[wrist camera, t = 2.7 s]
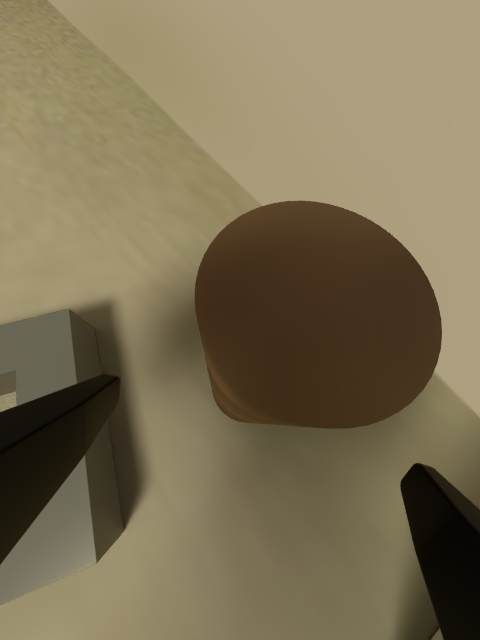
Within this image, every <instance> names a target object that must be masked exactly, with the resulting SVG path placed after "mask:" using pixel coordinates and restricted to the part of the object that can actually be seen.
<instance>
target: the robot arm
mask: <svg viewBox="0 0 480 640" xmlns="http://www.w3.org/2000/svg"><path fill="white" fill-rule="evenodd" d="M119 394H120V377H119V376H116V375H113V374H109V373H104V374H101V375H98V376H96V377H93V378H90V379H88V380H85V381H82V382H80V383H77V384H74V385H72V386H69V387H66V388H64V389H61V390H58V391H56V392H53V393H50V394H48V395H45V396H42V397H39V398H37V399H34V400H31V401H29V402H26V403H23V404H21V405H18V406H15V407H13V408H10V409H7V410H5V411H2V412H0V565H1V564H2V562H3V561H4V560H5V558H6V557H7V556H8V554H9V553H10V552H11V551H12V549H13V548H14V547H15V545H16V544H17V543H18V541H19V540H20V539H21V538H22V536H23V535H24V534H25V532H26V531H27V530H28V529H29V527H30V526H31V525H32V523H33V522H34V521H35V519H36V518H37V517H38V516H39V514H40V513H41V512H42V510H43V509H44V508H45V506H46V505H47V504H48V503H49V501H50V500H51V499H52V497H53V496H54V495H55V493H56V492H57V491H58V490H59V488H60V487H61V486H62V484H63V483H64V482H65V480H66V479H67V478H68V477H69V475H70V474H71V473H72V471H73V470H74V469H75V467H76V466H77V465H78V464H79V462H80V461H81V460H82V458H83V457H84V455H85V454H86V453H87V451H88V450H89V448H90V447H91V445H92V444H93V442H94V440H95V439H96V437H97V436H98V434H99V432H100V431H101V429H102V428H103V426H104V424H105V423H106V421H107V420H108V418H109V416H110V415H111V413H112V412H113V410H114V408H115V407H116V405H117V403H118V401H119ZM400 486H401V493H402V497H403V501H404V505H405V510H406V514H407V518H408V522H409V527H410V531H411V535H412V540H413V544H414V547H415V551H416V555H417V558H418V561H419V565H420V568H421V571H422V574H423V577H424V580H425V583H426V587H427V590H428V593H429V596H430V599H431V602H432V605H433V608H434V612H435V615H436V618H437V621H438V624H439V627H440V630H441V633H442V637H443V640H480V510H479V509H478V508H477V507H476V506H475V505H474V504H473V503H472V502H471V501H470V500H468V499H467V498H466V497H465V496H464V495H463V494H462V493H461V492H460V491H458V490H457V489H456V488H455V487H454V486H453V485H452V484H451V483H450V482H448V481H447V480H446V479H445V478H444V477H443V476H442V475H441V474H440V473H438V472H437V471H436V470H435V469H434V468H432V467H430V466H427V465H424V464H420V463H416V464H414V465H413V466H412V467H411V468H410V470H409V471H408V472H407V473H406V475H405V476H404V477H403V479H402V480H401V485H400Z"/></svg>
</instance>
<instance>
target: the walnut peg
mask: <svg viewBox="0 0 480 640" xmlns="http://www.w3.org/2000/svg"><path fill="white" fill-rule="evenodd" d="M195 307H196V315H197V320H198V325H199V329H200V334H201V339H202V344H203V348H204V353H205V358H206V362H207V367H208V372H209V377H210V381H211V386H212V391H213V395H214V399H215V401H216V403H217V405H218V406H219V408H220V409H221V410H222V411H223V413H225V414H226V415H227V416H229V417H230V418H232V419H234V420H237V421H240V422H248V423H262V424H276V425H289V426H303V427H317V428H353V427H359V426H366V425H369V424H372V423H375V422H378V421H382V420H384V419H386V418H388V417H390V416H392V415H394V414H396V413H398V412H399V411H401V410H402V409H403V408H405V407H406V406H407V405H409V404H410V403H411V402H412V401H413V400H414V399H415V398H416V397H417V396H418V395H419V394H420V393H421V392H422V390H423V389H424V387H425V386H426V384H427V383H428V381H429V380H430V378H431V376H432V374H433V372H434V369H435V367H436V364H437V361H438V357H439V353H440V349H441V339H442V329H441V317H440V312H439V307H438V303H437V301H436V297H435V294H434V291H433V289H432V287H431V285H430V282H429V280H428V278H427V276H426V275H425V273H424V271H423V270H422V268H421V267H420V265H419V264H418V262H417V261H416V260H415V258H414V257H413V256H412V255H411V253H410V252H409V251H408V250H407V249H406V248H405V247H404V246H403V245H402V244H401V243H400V242H399V241H398V240H397V239H396V238H394V237H393V236H392V235H391V234H390V233H388V232H387V231H386V230H384V229H383V228H381V227H380V226H379V225H377V224H375V223H374V222H372V221H370V220H368V219H367V218H365V217H363V216H361V215H359V214H356V213H354V212H352V211H349V210H346V209H344V208H341V207H337V206H334V205H330V204H325V203H319V202H311V201H286V202H279V203H273V204H270V205H266V206H262V207H259V208H256V209H254V210H251V211H249V212H247V213H245V214H243V215H242V216H240V217H238V218H237V219H235V220H234V221H232V222H231V223H230V224H228V225H227V226H226V227H225V228H224V229H223V230H222V231H221V232H220V233H219V234H218V235H217V236H216V238H215V239H214V240H213V241H212V243H211V244H210V246H209V247H208V249H207V251H206V253H205V254H204V257H203V259H202V262H201V264H200V267H199V270H198V274H197V279H196V286H195Z"/></svg>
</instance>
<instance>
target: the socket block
mask: <svg viewBox="0 0 480 640" xmlns="http://www.w3.org/2000/svg"><path fill="white" fill-rule="evenodd" d="M98 375H101V368H100V361H99V354H98V347H97V340H96V334H95V328H94V327H92V326H91V325H90V324H88V323H87V322H86V321H84V320H83V319H82V318H80V317H79V316H78V315H76V314H75V313H74V312H72V311H71V310H69V309H66V310H62V311H58V312H54V313H50V314H46V315H42V316H38V317H34V318H29V319H25V320H21V321H17V322H13V323H9V324H5V325H1V326H0V396H1V395H4V394H7V393H11V392H14V391H16V396H17V406H18V405H21V404H23V403H26V402H29V401H31V400H34V399H37V398H39V397H42V396H45V395H48V394H50V393H53V392H56V391H58V390H61V389H64V388H66V387H69V386H72V385H74V384H77V383H80V382H82V381H85V380H88V379H90V378H93V377H96V376H98ZM123 532H124V527H123V520H122V513H121V506H120V499H119V492H118V485H117V478H116V471H115V465H114V458H113V451H112V444H111V437H110V430H109V423H108V420H107V421H106V423H105V424H104V426H103V428H102V429H101V431H100V432H99V434H98V436H97V437H96V439H95V440H94V442H93V444H92V445H91V447H90V448H89V450H88V451H87V453H86V454H85V455H84V457H83V458H82V460H81V461H80V462H79V464H78V465H77V466H76V467H75V469H74V470H73V471H72V473H71V474H70V475H69V477H68V478H67V479H66V480H65V482H64V483H63V484H62V486H61V487H60V488H59V490H58V491H57V492H56V493H55V495H54V496H53V497H52V499H51V500H50V501H49V503H48V504H47V505H46V506H45V508H44V509H43V510H42V512H41V513H40V514H39V516H38V517H37V518H36V519H35V521H34V522H33V523H32V525H31V526H30V527H29V529H28V530H27V531H26V532H25V534H24V535H23V536H22V538H21V539H20V540H19V541H18V543H17V544H16V545H15V547H14V548H13V549H12V551H11V552H10V553H9V554H8V556H7V557H6V558H5V560H4V561H3V562H2V564H1V565H0V605H2V604H4V603H6V602H9V601H11V600H13V599H16V598H18V597H20V596H22V595H25V594H27V593H29V592H32V591H34V590H36V589H38V588H41V587H43V586H45V585H48V584H50V583H52V582H55V581H57V580H59V579H61V578H64V577H66V576H68V575H71V574H73V573H75V572H77V571H80V570H82V569H84V568H87V567H89V566H91V565H94V564H96V563H97V562H98V561H99V560H100V559H101V557H102V556H103V555H104V554H105V553H106V552H107V550H108V549H109V548H110V547H111V546H112V545H113V543H114V542H115V541H116V540H117V539H118V538H119V536H120V535H121V534H122V533H123Z"/></svg>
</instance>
